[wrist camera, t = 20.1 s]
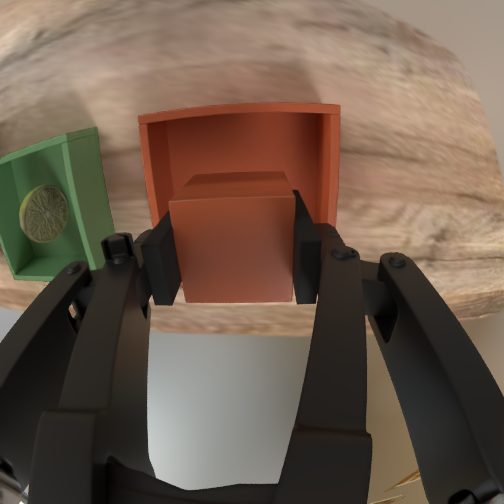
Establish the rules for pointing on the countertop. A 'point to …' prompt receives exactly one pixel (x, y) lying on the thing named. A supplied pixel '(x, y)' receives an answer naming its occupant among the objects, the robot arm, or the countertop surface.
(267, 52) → the countertop surface
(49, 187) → the lime
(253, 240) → the block
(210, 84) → the countertop surface
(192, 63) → the countertop surface
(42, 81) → the countertop surface
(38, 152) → the green bin
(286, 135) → the terracotta bin
